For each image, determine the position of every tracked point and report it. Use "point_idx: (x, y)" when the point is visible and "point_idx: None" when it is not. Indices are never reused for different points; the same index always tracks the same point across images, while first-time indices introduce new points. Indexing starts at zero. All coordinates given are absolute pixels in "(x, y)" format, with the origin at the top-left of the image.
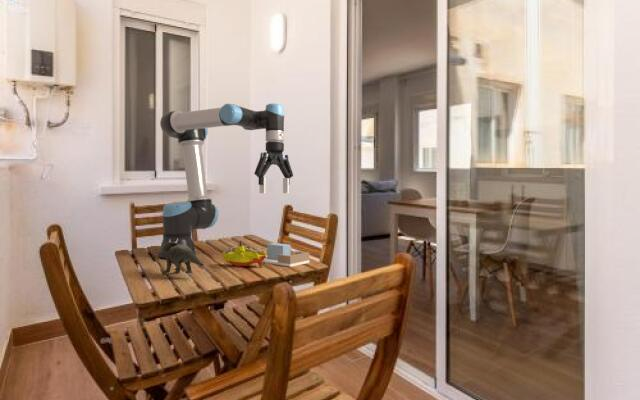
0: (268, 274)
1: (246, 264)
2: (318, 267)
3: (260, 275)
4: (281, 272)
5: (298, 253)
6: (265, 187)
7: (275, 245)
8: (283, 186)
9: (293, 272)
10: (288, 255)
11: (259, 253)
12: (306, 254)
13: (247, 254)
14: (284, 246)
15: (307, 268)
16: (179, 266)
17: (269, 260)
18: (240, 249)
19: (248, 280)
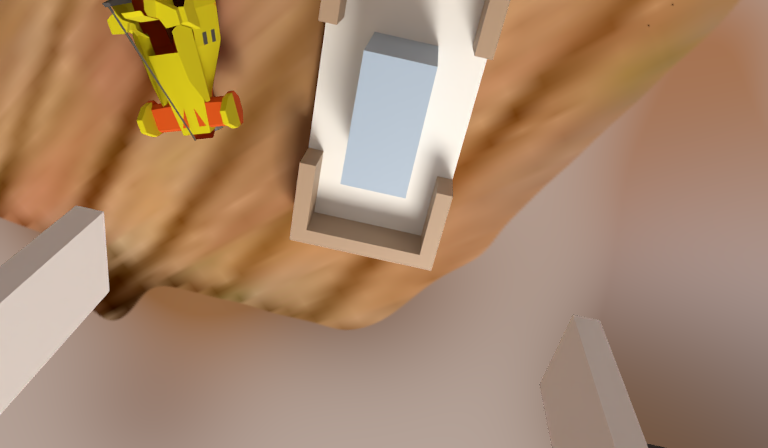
0: (131, 212)
1: (163, 45)
2: (350, 312)
3: (98, 195)
4: (189, 236)
5: (431, 210)
6: (61, 344)
7: (351, 124)
8: (595, 404)
9: (217, 273)
10: (306, 221)
11: (320, 11)
12: (408, 262)
13: (144, 59)
14: (354, 184)
15: (310, 286)
16: None
17: (326, 81)
18: (115, 14)
19: (16, 202)
